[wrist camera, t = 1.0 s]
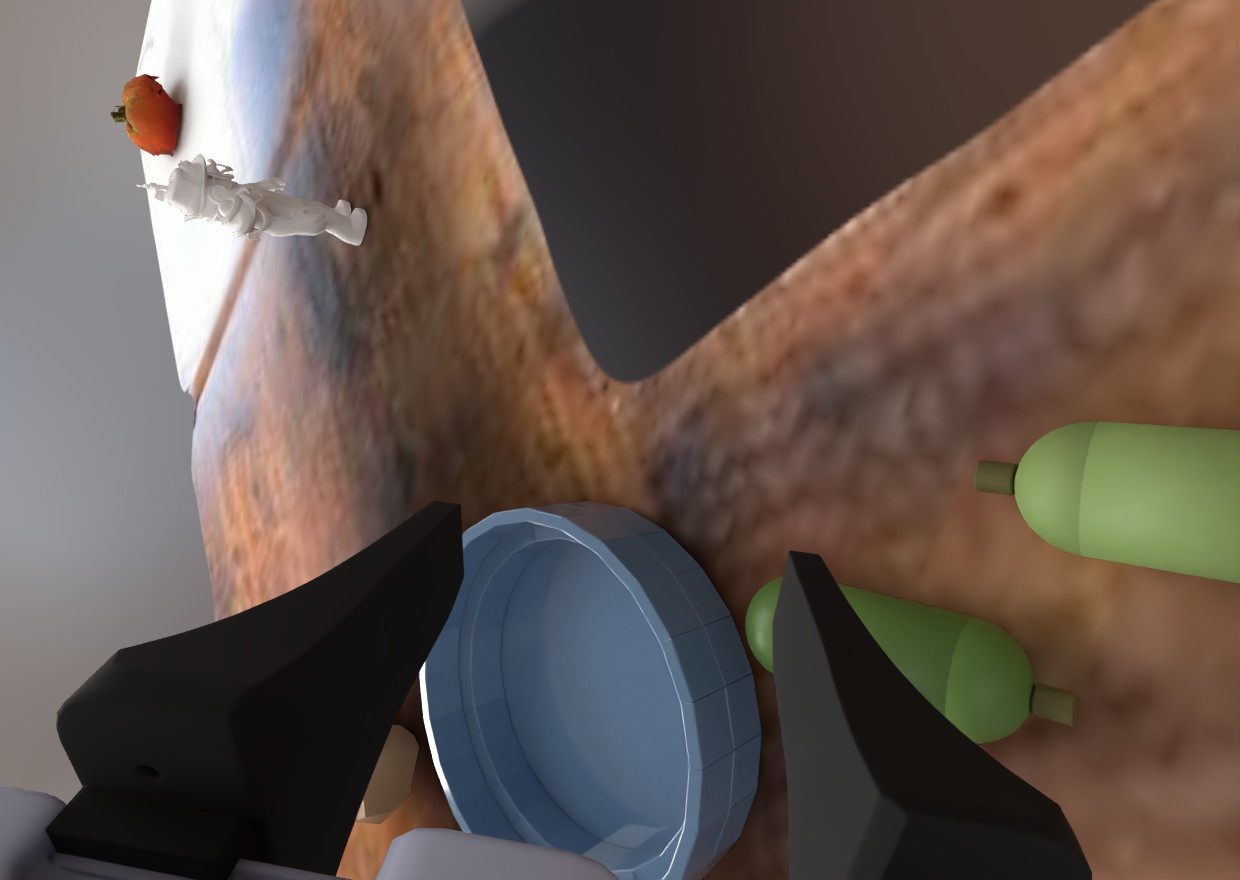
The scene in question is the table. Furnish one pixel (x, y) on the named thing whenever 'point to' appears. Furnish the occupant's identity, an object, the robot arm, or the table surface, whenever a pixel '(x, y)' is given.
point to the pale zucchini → (1131, 494)
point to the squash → (390, 777)
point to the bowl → (593, 694)
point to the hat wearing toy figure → (255, 204)
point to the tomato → (149, 115)
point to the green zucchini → (941, 661)
